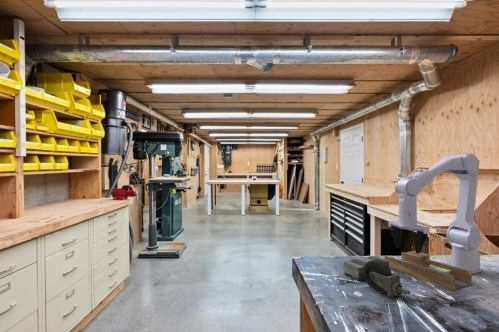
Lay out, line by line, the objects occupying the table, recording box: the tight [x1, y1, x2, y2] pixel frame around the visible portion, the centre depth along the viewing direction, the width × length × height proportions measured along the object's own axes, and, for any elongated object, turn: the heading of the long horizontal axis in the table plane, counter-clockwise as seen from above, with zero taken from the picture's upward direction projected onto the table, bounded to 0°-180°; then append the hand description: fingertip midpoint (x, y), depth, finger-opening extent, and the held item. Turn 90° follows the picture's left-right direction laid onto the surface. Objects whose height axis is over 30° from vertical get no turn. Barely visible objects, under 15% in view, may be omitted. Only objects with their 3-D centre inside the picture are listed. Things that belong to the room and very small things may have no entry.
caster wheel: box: [363, 260, 410, 298], centre depth 92 cm, size 6×10×15 cm
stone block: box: [343, 255, 389, 282], centre depth 109 cm, size 9×14×5 cm, turn 112°
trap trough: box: [384, 252, 473, 292], centre depth 107 cm, size 11×25×4 cm, turn 27°
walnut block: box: [404, 250, 431, 267], centre depth 109 cm, size 6×6×4 cm
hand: (408, 250), depth 106 cm, fingers open, 7 cm apart
